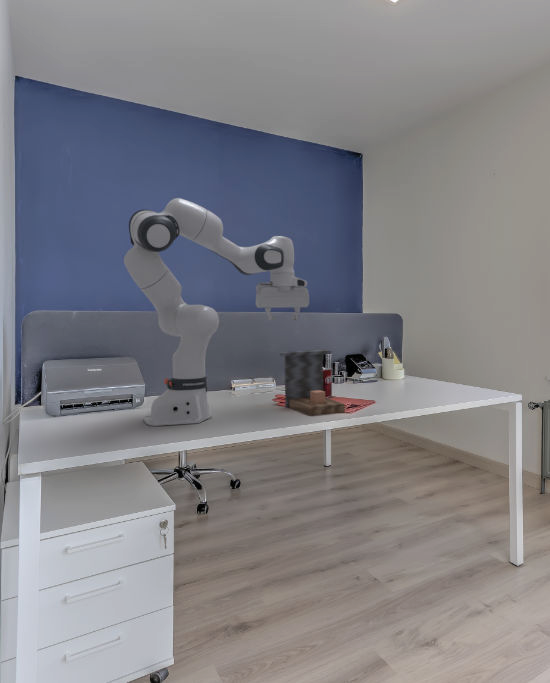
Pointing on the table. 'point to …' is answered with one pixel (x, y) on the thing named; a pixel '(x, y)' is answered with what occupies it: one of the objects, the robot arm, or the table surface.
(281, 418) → the table surface
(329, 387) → the soda can
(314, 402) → the peg
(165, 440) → the table surface
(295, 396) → the socket block
